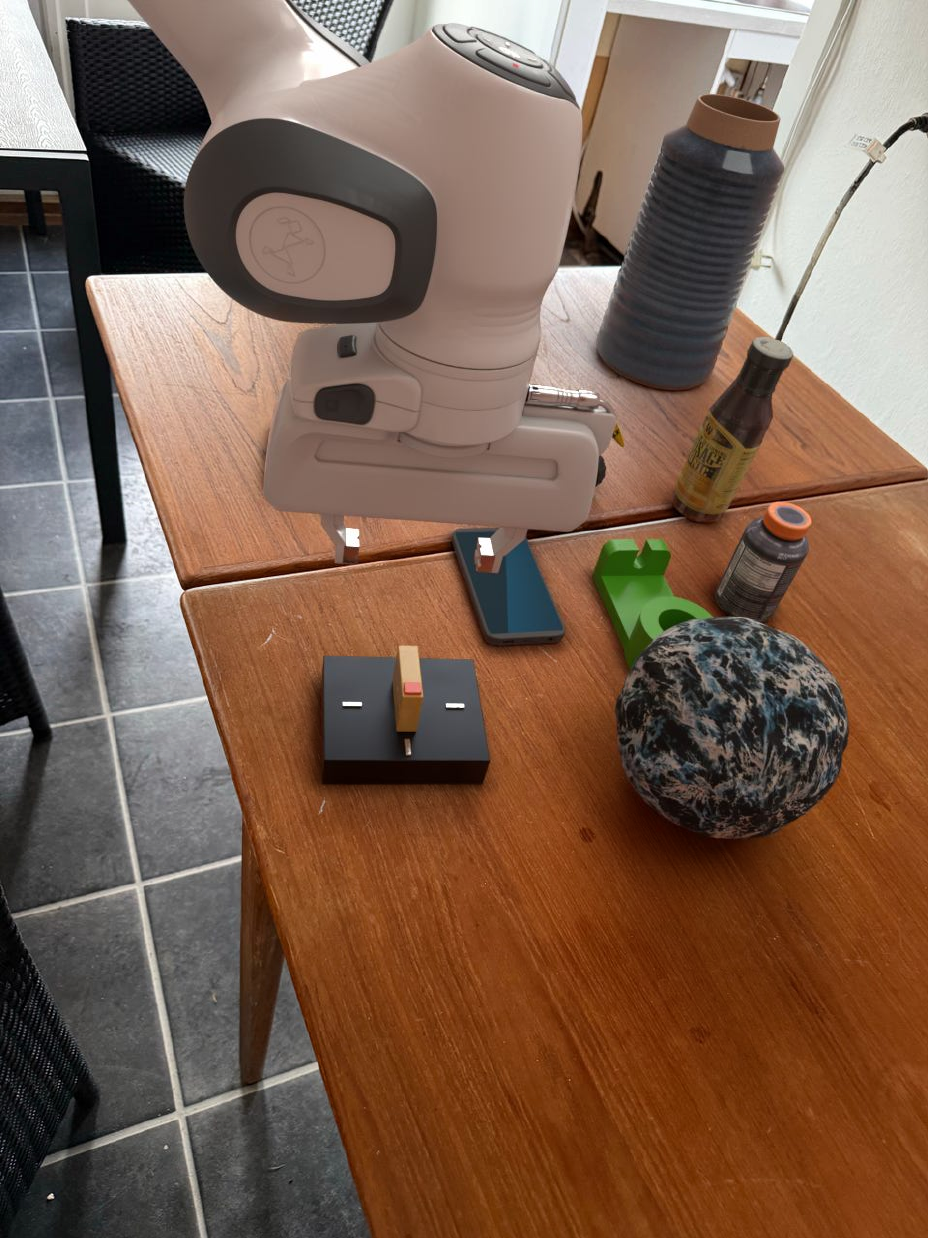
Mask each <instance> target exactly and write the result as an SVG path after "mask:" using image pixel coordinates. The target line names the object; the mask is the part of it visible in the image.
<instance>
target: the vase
mask: <svg viewBox="0 0 928 1238" xmlns="http://www.w3.org/2000/svg"><path fill="white" fill-rule="evenodd" d="M780 123H781V116H780V115H779V114H778V113H777V112H776V111H774V110H772V109H771V108H768V107H767V106H764V105H762V104H760V103H757V102H753V101H751V100H748V99H744V98H741V97H736V96H730V95H725V94H718V93H703V94H700V95H698V96H697V97H696V101H695V103H694V105H693V108H692V110H691V112H690V114H689V117H688V119H687V121H686V124H683V125H681V126H678V127H676V128H674V129H672V130H670V131H668V132H666V133H665V134H664V135H663V137H662V140H661V143H660V147H659V151H658V153H657V156H656V161H655V162H654V165H653V170H652V172H651V174H650V179H649V181H648V183H647V186H646V187H647V188H646V190H645V193H644V196H643V199H642V201H641V205H640V208H639V211H638V213H637V218H636V220H635V223H634V226H633V228H632V232H631V233H632V234H631V236H630V238H629V241H628V244H627V247H626V250H625V253H624V256H623V260H622V261H621V265H620V268H619V270H618V272H617V275H616V280H615V282H614V284H613V287H612V292H611V294H610V296H609V300H608V301H607V307H606V309H605V311H604V314H603V317H602V322H601V324H600V325H599V330H598V333H597V336H596V341H595V346H596V349H597V352H598V354H599V356H600V358H601V360H602V361H603V363H605V364H606V365H607V367H608V368H610V369H611V370H612V371H614V372H615V373H616V374H618V375H620V376H621V377H623V378H625V379H627V380H629V381H631V382H634V383H636V384H638V385H639V384H640V385H642V386H644V387H645V386H646V387H650V388H654V389H658V390H664V391H665V390H666V391H683V390H684V391H685V390H689V389H693V388H695V387H698V386H700V385H702V384H704V383H705V382H706V381H708V380H709V379H710V377H711V376H712V374H713V372H714V369H715V367H716V364H717V361H718V357H719V355H720V353H721V350H722V347H723V342H724V340H725V338H726V336H727V333H728V330H729V325H730V324H731V322H732V319H733V316H734V315H733V314H734V312H735V311H736V308H737V304H738V300H739V298H740V293H741V292H742V290H743V285H744V283H745V280H746V277H747V275H748V274H749V273H748V272H749V270H750V266H751V264H752V261H753V258H754V256H755V253H756V249H757V247H758V244H759V240H760V239H761V236H762V231H763V230H764V227H765V224H766V222H767V220H768V216H769V212H770V210H771V208H772V204H773V202H774V200H775V197H776V193H777V191H778V189H779V184H780V182H781V180H782V179H783V175H784V173H785V171H786V168H785V167H786V166H785V164H784V163H783V160H782V159H781V158H780V156H779V154H778V153H777V151H776V150H775V148H774V146H775V143H776V139H777V135H778V131H779V127H780Z"/></svg>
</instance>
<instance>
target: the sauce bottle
mask: <svg viewBox="0 0 928 1238" xmlns="http://www.w3.org/2000/svg"><path fill="white" fill-rule="evenodd" d="M746 353H747V354H746V358H745V360H744V362H743V365H742V366H741V369H740V371H739V373H738V375H737V376H736V378H734V380H733V381H732V383H730V384H729V386H728V387H727V388H726V389H725V390H724V391H723V393H721V395H720V396H719V397H718V398H717V399H716V401H715V402H713V404H712V405H711V406H710V407H709V409H708V411H707V413H706V415H705V417H704V419H703V421H702V423H701V426H700V428H699V430H698V433H697V435H696V437H695V438H694V441H693V444H692V445H691V448H690V450H689V453H688V455H687V457H686V459H685V462H684V464H683V466H682V468H681V470H680V472H679V474H678V477H677V479H676V481H675V484H674V488H673V491H672V494H671V503H672V506H673V507H674V509H675V510H676V511H677V512H678V513H679V514H680V515H682V516H684V517H685V518H686V519H688V520H689V521H692V522H698V523H704V524H708V523H714V522H717V521H719V520H720V519H721V518H723V516H724V515H725V513H726V511H727V510H728V509H729V507H730V505H731V503H732V501H733V499H734V498H735V496H736V494H737V492H738V490H739V488H740V486H741V483H742V482H743V480H744V478H745V476H746V474H747V472H748V470H749V468H750V466H751V464H752V462H753V460H754V458H755V456H756V455H757V452H758V451H759V449H760V447H761V446H762V443H763V439H764V437H765V435H766V433H767V431H768V429H769V428H770V425H771V423H772V420H773V419H774V409H773V394H774V393H775V392H776V387H777V386H778V383H779V381H780V379H781V377H782V375H783V373H784V371H785V370H786V369H788V367H789V366H790V364H791V362H792V359H793V357H794V352H793V350H792V348H791V347H790V346H789V345H787V343H785V342H783V341H781V340H779V339H777V338H773V337H769V336H758V337H755V338H754V339H753V340H752V341H751V344H750V345H749V348H748V349H747V352H746Z"/></svg>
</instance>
